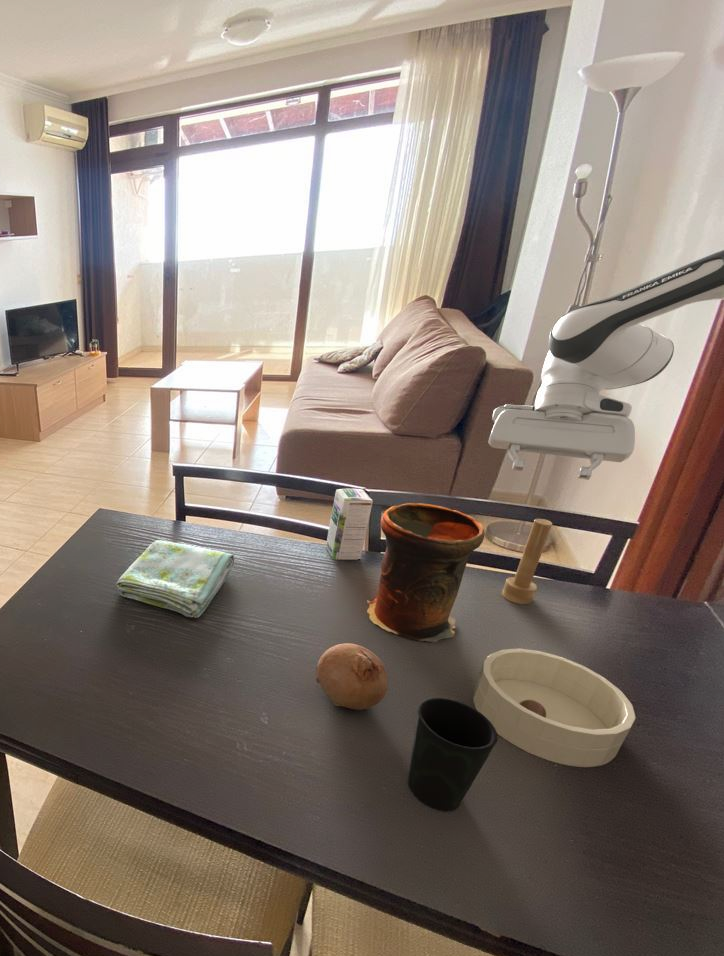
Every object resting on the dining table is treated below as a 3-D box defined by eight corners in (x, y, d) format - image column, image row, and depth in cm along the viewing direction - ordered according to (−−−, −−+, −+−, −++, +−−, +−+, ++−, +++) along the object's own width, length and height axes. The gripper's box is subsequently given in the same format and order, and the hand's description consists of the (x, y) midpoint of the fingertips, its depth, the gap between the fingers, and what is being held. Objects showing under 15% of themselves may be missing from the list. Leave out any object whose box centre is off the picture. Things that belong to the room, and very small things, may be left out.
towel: (112, 597, 110) (111, 576, 108) (157, 550, 125) (157, 530, 123) (198, 625, 100) (199, 603, 98) (235, 570, 115) (237, 549, 113)
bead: (520, 719, 74) (520, 723, 76) (549, 721, 72) (548, 725, 74) (515, 697, 76) (515, 701, 78) (543, 698, 74) (542, 702, 76)
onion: (366, 728, 80) (403, 707, 73) (302, 703, 82) (331, 679, 75) (369, 671, 86) (403, 646, 78) (309, 649, 88) (337, 622, 80)
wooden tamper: (525, 591, 102) (552, 517, 95) (536, 605, 98) (565, 528, 91) (498, 589, 103) (522, 515, 96) (507, 602, 99) (533, 526, 92)
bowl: (581, 689, 80) (595, 658, 78) (645, 779, 67) (665, 745, 65) (458, 671, 85) (468, 641, 83) (496, 752, 72) (508, 720, 69)
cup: (391, 794, 68) (410, 725, 63) (406, 754, 73) (425, 687, 68) (464, 832, 63) (492, 762, 58) (476, 787, 68) (502, 718, 63)
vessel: (404, 586, 106) (426, 495, 97) (476, 629, 93) (508, 529, 85) (345, 605, 102) (362, 511, 94) (412, 652, 90) (439, 549, 81)
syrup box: (324, 546, 121) (334, 488, 115) (352, 546, 120) (363, 488, 114) (332, 560, 116) (343, 499, 110) (362, 560, 115) (374, 499, 109)
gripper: (498, 395, 106) (482, 457, 104) (644, 405, 95) (631, 476, 92) (493, 411, 111) (478, 470, 109) (631, 423, 100) (619, 490, 97)
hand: (549, 473), depth 100 cm, fingers open, 8 cm apart
